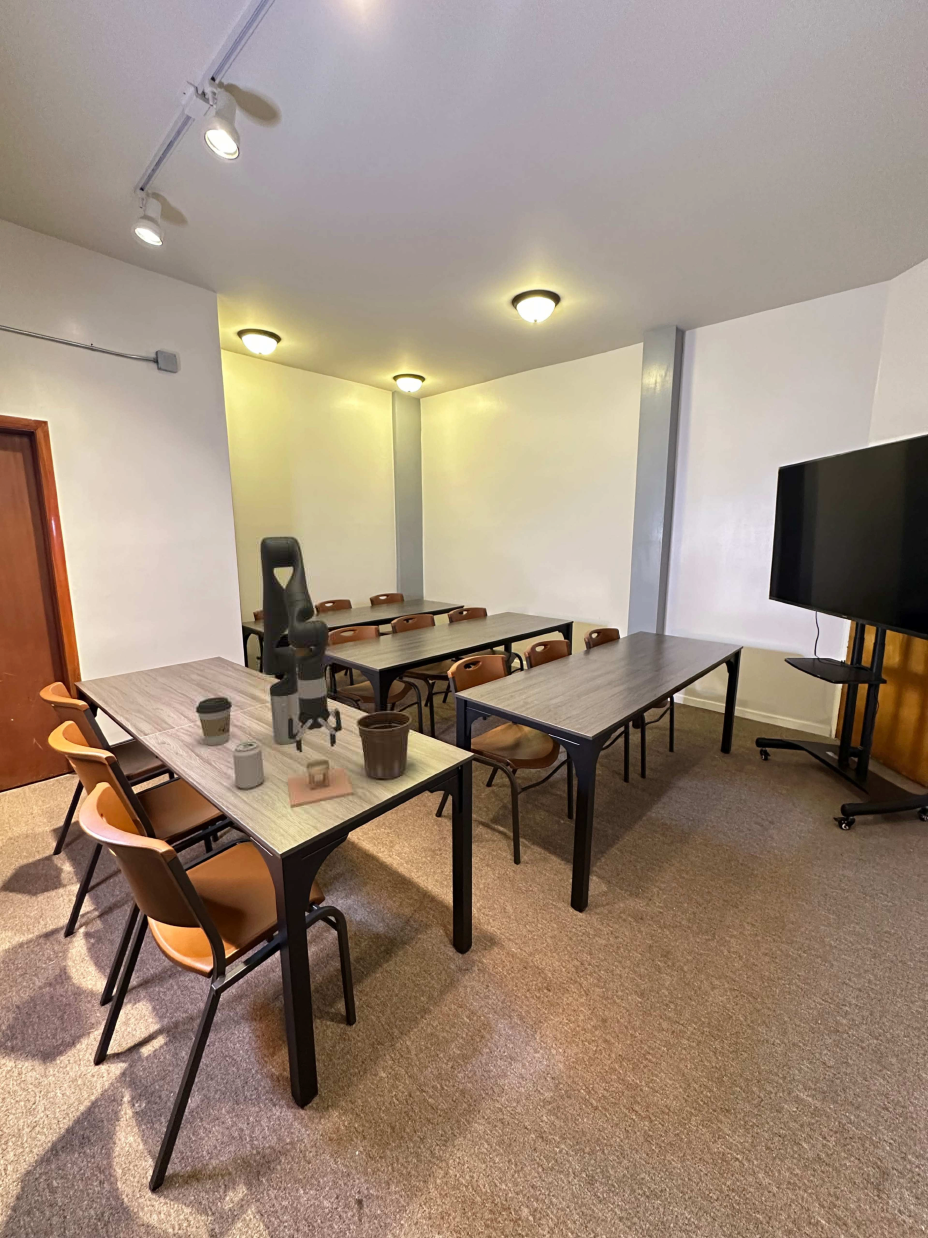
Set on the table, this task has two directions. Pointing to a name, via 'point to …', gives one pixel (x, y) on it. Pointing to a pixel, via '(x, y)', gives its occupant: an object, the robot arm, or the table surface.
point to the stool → (318, 771)
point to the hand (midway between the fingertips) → (316, 748)
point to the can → (248, 764)
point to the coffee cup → (215, 720)
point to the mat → (318, 788)
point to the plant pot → (384, 743)
